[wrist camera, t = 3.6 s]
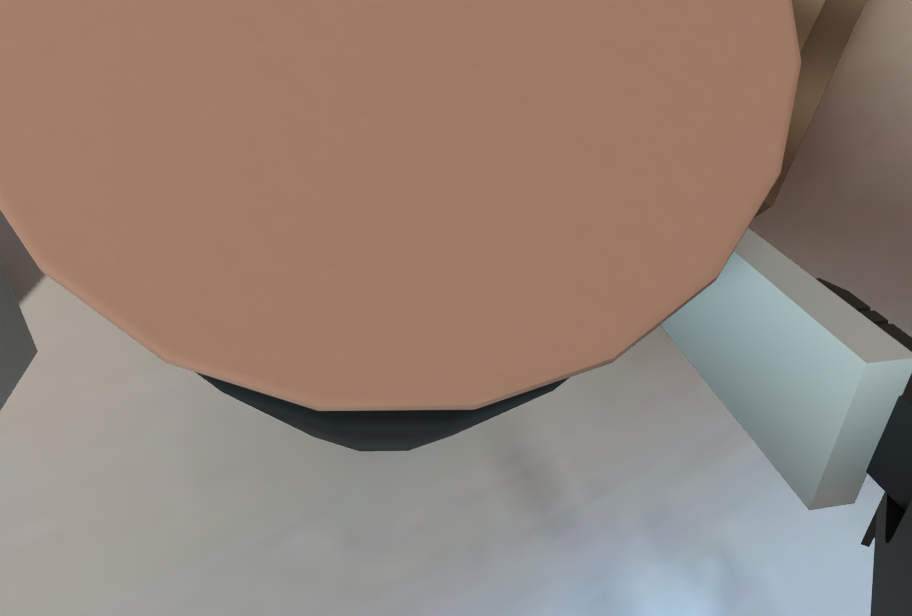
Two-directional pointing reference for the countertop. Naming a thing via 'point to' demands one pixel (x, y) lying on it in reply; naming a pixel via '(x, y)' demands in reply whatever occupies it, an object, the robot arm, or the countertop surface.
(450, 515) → the countertop surface
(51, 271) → the coffee jar
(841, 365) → the robot arm
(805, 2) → the wooden tray
